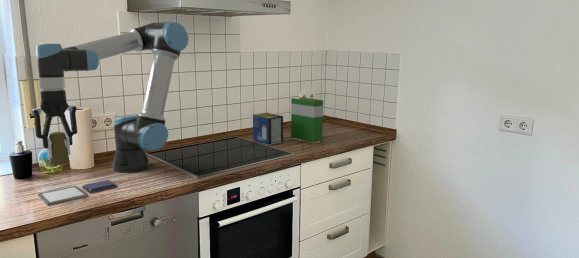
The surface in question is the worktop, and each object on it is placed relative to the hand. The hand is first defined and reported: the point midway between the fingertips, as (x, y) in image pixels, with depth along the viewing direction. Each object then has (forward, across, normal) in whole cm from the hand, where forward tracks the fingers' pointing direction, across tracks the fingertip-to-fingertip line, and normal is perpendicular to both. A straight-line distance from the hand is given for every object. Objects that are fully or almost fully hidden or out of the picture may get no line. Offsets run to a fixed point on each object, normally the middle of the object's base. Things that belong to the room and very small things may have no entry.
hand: (59, 155), depth 146 cm
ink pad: (+15, -13, 0) cm, 20 cm away
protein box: (+15, -111, -16) cm, 113 cm away
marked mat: (+15, 0, 0) cm, 15 cm away
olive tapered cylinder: (+3, 0, 0) cm, 3 cm away
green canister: (+15, -130, -4) cm, 131 cm away
